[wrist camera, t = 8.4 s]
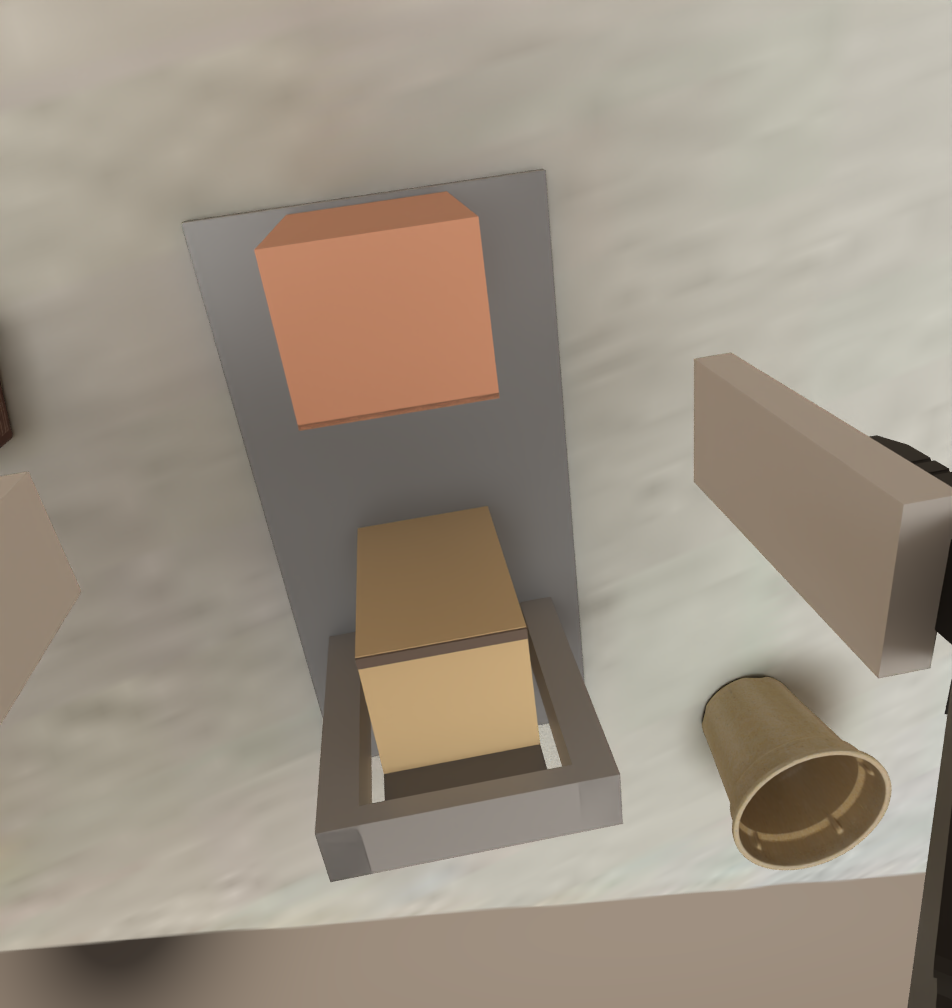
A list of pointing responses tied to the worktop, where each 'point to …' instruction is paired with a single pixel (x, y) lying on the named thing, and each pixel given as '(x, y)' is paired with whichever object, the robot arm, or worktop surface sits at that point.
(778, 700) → the flower pot
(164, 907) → the worktop surface
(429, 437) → the holder
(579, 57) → the worktop surface
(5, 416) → the box
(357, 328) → the block
